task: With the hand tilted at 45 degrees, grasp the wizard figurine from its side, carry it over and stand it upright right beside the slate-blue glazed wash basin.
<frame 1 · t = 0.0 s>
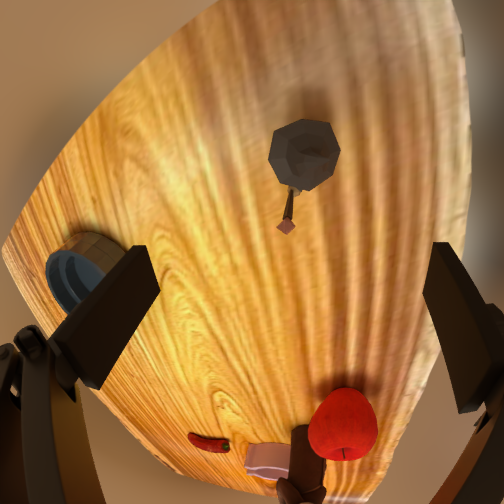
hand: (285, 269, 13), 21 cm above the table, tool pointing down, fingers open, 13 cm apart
apple: (343, 392, 50), on the table
vegetable: (211, 437, 70), on the table
wizard figurine: (308, 148, 30), on the table
clip: (287, 451, 68), on the table
sculpture: (312, 433, 60), on the table
basin: (103, 273, 45), on the table
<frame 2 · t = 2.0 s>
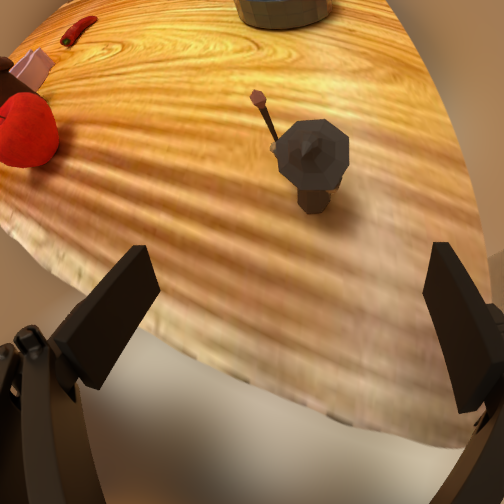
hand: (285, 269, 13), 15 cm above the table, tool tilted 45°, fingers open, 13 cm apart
apple: (50, 151, 42), on the table
vegetable: (80, 35, 54), on the table
wizard figurine: (303, 195, 30), on the table
clip: (25, 94, 52), on the table
sculpture: (29, 118, 48), on the table
basin: (285, 8, 39), on the table
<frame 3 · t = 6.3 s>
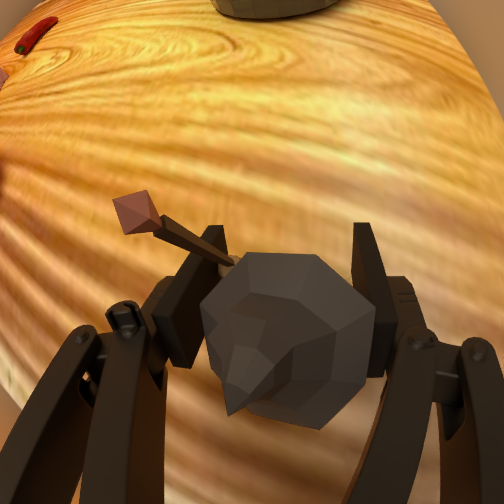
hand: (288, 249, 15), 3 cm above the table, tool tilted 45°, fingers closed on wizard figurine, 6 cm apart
vegetable: (39, 40, 41), on the table
wizard figurine: (293, 325, 17), on the table, touching gripper
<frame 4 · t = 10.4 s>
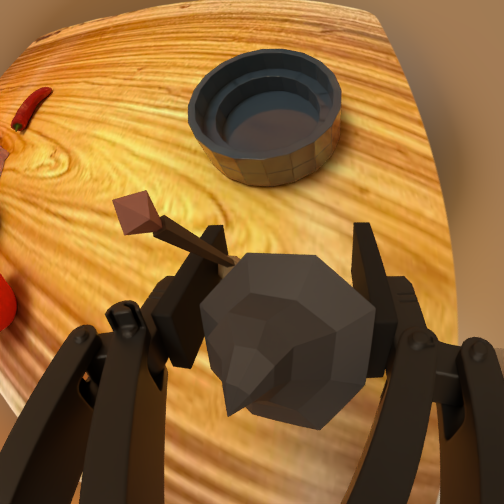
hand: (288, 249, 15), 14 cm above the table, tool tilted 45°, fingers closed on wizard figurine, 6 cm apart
apple: (11, 306, 37), on the table
vegetable: (35, 113, 48), on the table
wizard figurine: (293, 326, 17), point 11 cm above the table, touching gripper
basin: (271, 128, 33), on the table
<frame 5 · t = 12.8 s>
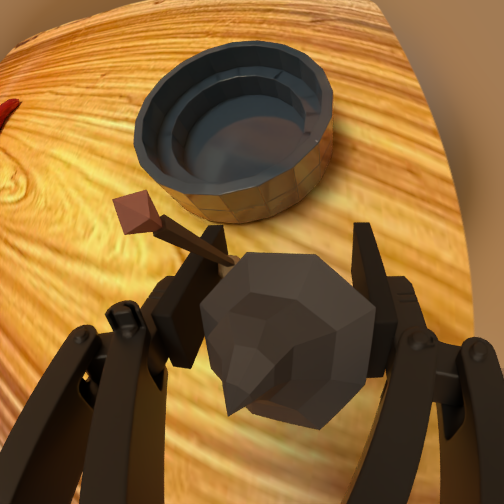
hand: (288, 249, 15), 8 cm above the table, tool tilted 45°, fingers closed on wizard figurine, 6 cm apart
vegetable: (3, 127, 42), on the table
wizard figurine: (293, 325, 17), point 5 cm above the table, touching gripper
basin: (244, 143, 27), on the table
when the fingers open (3 cm above the table, at t = 14.6 s): wizard figurine stays where it is, on the table.
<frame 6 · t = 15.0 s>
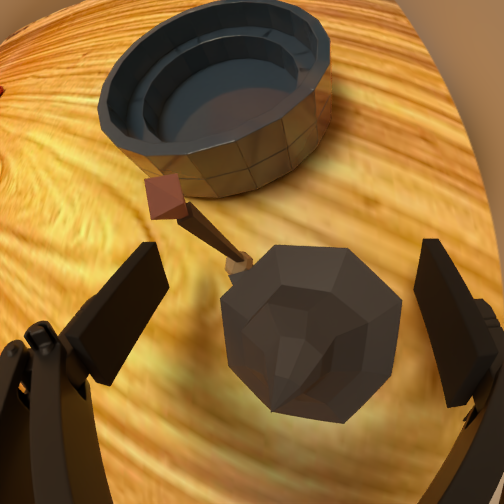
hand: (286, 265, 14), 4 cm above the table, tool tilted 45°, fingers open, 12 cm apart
wizard figurine: (291, 325, 17), on the table
basin: (228, 109, 22), on the table
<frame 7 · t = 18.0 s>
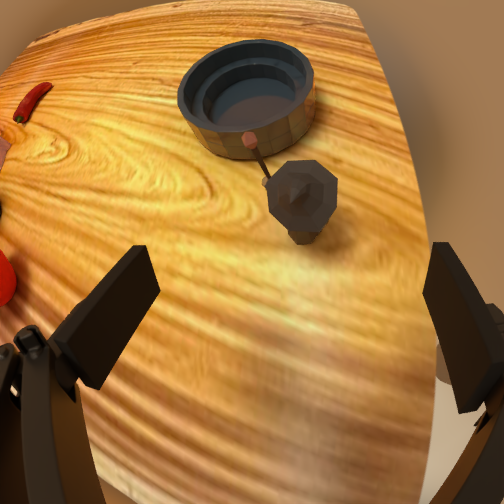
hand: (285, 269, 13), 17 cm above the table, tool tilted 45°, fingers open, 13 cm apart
apple: (11, 284, 39), on the table
vegetable: (35, 106, 51), on the table
wizard figurine: (294, 225, 32), on the table
basin: (253, 110, 36), on the table
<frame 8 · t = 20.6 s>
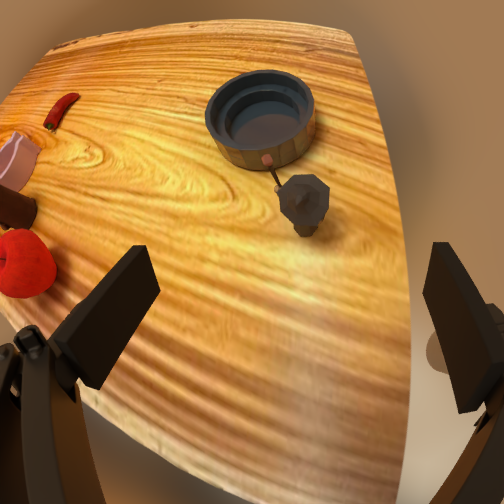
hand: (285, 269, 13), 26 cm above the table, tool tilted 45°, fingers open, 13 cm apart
apple: (50, 273, 49), on the table
vegetable: (64, 114, 61), on the table
wizard figurine: (298, 221, 41), on the table
clip: (17, 180, 59), on the table
sculpture: (24, 217, 55), on the table
basin: (265, 129, 46), on the table
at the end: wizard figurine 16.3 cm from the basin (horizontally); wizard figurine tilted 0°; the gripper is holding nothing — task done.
